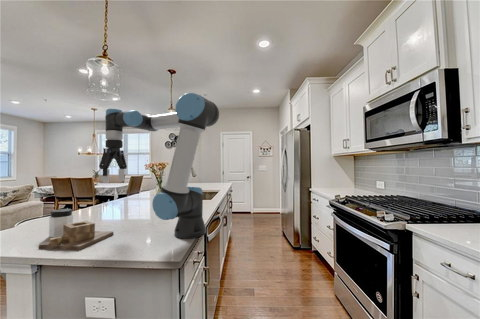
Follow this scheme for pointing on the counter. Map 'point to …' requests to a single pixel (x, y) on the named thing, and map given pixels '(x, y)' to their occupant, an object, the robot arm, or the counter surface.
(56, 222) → the jar
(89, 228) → the wooden square frame
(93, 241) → the jig
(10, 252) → the counter surface
